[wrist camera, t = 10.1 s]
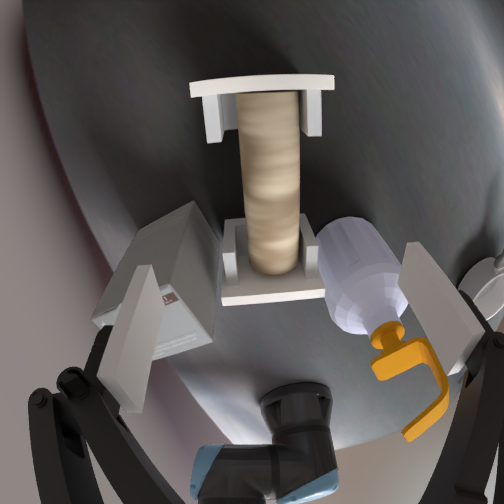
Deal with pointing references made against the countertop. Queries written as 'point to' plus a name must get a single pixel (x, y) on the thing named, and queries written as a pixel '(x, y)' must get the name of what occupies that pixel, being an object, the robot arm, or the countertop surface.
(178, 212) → the skincare box
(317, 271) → the bracket
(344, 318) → the soap bottle
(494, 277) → the saucepan
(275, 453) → the robot arm
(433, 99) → the countertop surface
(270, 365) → the countertop surface
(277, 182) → the rail
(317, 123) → the bracket
